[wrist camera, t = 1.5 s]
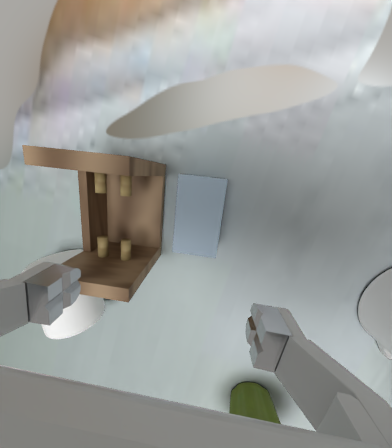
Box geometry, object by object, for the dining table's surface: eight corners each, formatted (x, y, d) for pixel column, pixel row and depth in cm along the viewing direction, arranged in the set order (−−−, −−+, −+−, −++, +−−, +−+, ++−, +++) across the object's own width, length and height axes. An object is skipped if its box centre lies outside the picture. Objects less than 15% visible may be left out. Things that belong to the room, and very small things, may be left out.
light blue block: (225, 178, 25) (227, 179, 20) (215, 243, 27) (215, 258, 22) (185, 174, 25) (178, 173, 20) (179, 238, 27) (172, 251, 23)
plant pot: (260, 361, 32) (284, 458, 21) (293, 405, 34) (331, 514, 23) (205, 384, 34) (201, 480, 24) (239, 423, 36) (249, 528, 25)
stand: (165, 164, 25) (129, 156, 14) (160, 254, 28) (128, 302, 18) (102, 157, 25) (22, 145, 15) (105, 246, 29) (42, 288, 18)
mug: (103, 247, 29) (63, 273, 21) (114, 300, 32) (83, 341, 24) (36, 250, 30) (-23, 275, 23) (53, 300, 33) (4, 338, 25)
